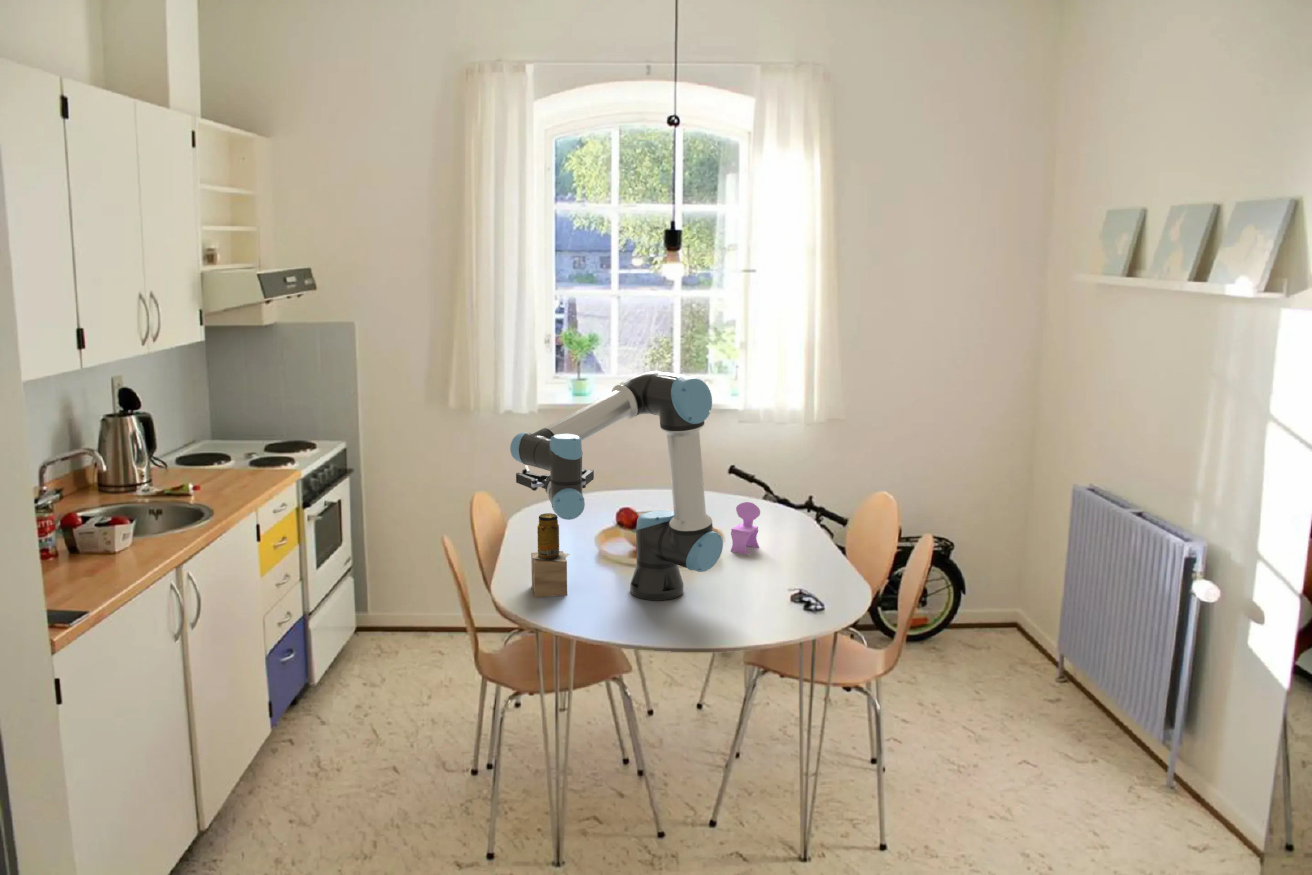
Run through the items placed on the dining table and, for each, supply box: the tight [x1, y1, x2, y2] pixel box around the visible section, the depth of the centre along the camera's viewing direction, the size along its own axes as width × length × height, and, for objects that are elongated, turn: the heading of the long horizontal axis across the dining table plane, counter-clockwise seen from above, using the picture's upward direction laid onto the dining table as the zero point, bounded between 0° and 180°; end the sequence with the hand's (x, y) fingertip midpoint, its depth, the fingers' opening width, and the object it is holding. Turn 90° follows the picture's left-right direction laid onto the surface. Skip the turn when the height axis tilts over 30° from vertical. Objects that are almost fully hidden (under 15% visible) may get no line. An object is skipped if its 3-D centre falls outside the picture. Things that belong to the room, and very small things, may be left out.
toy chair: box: [730, 501, 761, 555], centre depth 336 cm, size 8×9×15 cm
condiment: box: [533, 512, 571, 561], centre depth 297 cm, size 7×8×12 cm
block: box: [530, 550, 568, 598], centre depth 299 cm, size 9×9×10 cm
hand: (551, 468), depth 283 cm, fingers open, 13 cm apart
